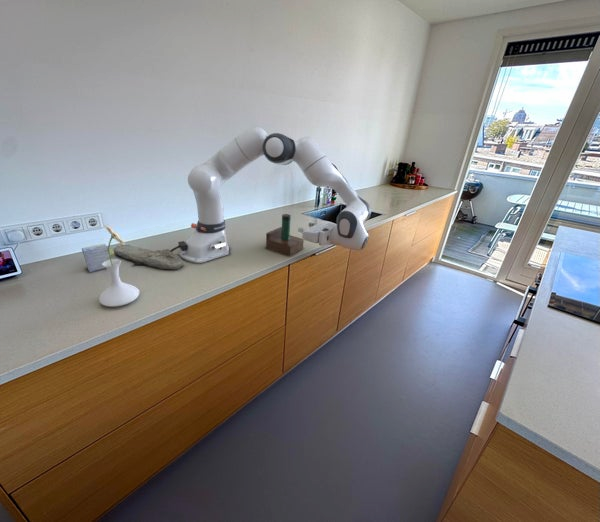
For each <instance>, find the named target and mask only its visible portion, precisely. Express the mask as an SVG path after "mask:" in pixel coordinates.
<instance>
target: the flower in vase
mask: <svg viewBox="0 0 600 522" xmlns="http://www.w3.org/2000/svg"><path fill="white" fill-rule="evenodd" d="M104 227H105V229H106V230H107V231H108V233H109V234H110V238H109V242H108V244H107V247H108V253H109V257H108V258H110V260H107V261H105V262H103V263H102V265H103V266H104V267H106V268H105V269H106V270H107V271H108V273H109V275H110V279H111V283H110V285H108V287H107V288H106V289H104V290H103V291H102V292H101V294H100V295H99V297H98V301H99V303H100V304H101V305H103V306H104V307H109V308H110V307H111V308H116V307H121V306H125V305H127V304H130V303H133V302H134V301H135V300H137V298H138V297H139V295H140V290H139V289H138V287H136V286H134V285H132V284H129V283H126V282H123V281H122V279H121V277H120V271H119V270H120V269H119V268H120V265H121V263H122V260H121V259H116V258H114V259H113V257H114V256H115V254H114V249H112V247H111V243H112V240H113V239H115V240H116V242H118V244H120V245H126V243H125V241H124V239H123V238H121V237H120V234H118V233H117V232H115V230H114V228H112V227H110V225H109V224H105V225H104ZM108 258H107V259H108Z"/></svg>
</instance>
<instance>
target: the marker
mask: <svg viewBox="0 0 600 522" xmlns="http://www.w3.org/2000/svg"><path fill="white" fill-rule="evenodd" d="M291 218H292V215H291V214H288V213H284V214H281V227H282V232H281V239H282V240H284V241H287V240H289V237H290V235H291V234H290V233H291Z"/></svg>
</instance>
